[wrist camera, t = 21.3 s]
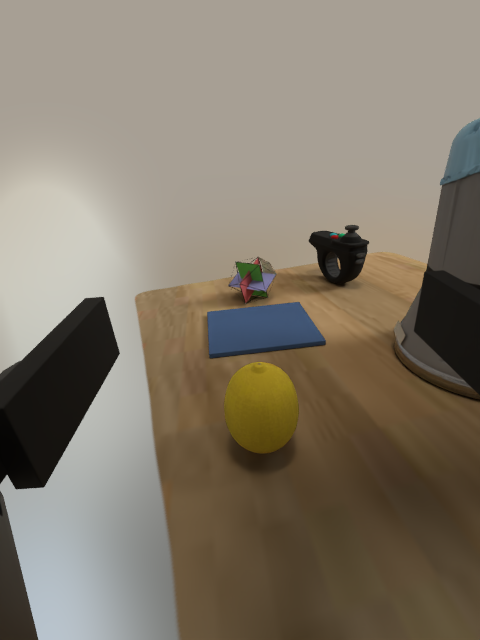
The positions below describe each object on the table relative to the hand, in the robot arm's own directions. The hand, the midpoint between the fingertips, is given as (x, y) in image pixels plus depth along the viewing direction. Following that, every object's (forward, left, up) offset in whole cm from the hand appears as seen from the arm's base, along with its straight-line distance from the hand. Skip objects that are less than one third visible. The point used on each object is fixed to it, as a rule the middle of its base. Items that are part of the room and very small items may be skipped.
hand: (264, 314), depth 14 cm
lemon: (-1, -7, -15) cm, 17 cm away
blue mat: (-4, -27, -15) cm, 31 cm away
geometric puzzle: (-4, -37, -15) cm, 40 cm away
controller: (-20, -42, -15) cm, 48 cm away
